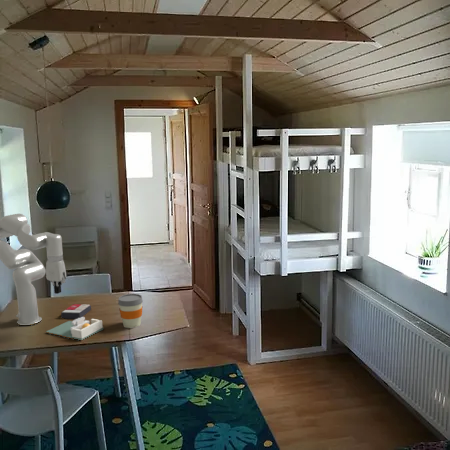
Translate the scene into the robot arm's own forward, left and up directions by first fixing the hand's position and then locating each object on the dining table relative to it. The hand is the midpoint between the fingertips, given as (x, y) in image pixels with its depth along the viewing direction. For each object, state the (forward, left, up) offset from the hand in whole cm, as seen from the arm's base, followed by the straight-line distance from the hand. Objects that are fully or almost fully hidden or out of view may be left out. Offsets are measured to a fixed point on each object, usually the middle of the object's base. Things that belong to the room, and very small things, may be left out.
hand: (57, 292), depth 249 cm
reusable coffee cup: (+31, +19, -20) cm, 42 cm away
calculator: (-8, +20, -20) cm, 30 cm away
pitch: (+9, 0, -20) cm, 22 cm away
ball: (+18, 0, -16) cm, 24 cm away
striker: (+13, 0, -18) cm, 22 cm away
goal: (+18, 0, -19) cm, 26 cm away
